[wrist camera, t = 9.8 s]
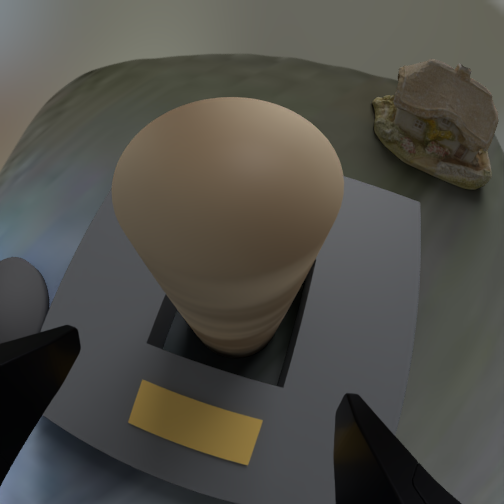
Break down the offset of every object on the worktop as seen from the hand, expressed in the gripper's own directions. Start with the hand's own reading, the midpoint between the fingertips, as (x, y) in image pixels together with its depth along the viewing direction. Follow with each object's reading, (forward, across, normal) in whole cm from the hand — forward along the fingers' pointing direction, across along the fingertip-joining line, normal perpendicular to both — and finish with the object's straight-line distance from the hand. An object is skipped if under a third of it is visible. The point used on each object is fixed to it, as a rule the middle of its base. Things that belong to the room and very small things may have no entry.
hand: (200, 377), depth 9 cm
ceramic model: (+24, -15, -12) cm, 31 cm away
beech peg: (+9, 0, +3) cm, 9 cm away
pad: (+6, +16, +6) cm, 18 cm away
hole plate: (+9, 0, +3) cm, 9 cm away
